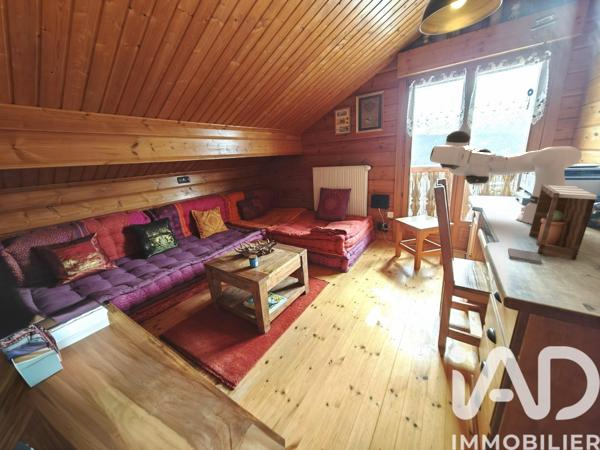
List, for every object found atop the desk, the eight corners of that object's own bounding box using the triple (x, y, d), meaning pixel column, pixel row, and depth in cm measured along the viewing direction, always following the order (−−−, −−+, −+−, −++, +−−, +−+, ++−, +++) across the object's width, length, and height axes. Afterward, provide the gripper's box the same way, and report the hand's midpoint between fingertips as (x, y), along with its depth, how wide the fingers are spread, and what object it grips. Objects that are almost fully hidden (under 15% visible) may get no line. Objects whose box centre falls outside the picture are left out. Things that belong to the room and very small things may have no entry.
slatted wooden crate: (528, 235, 109) (541, 184, 102) (559, 239, 103) (575, 185, 96) (537, 254, 90) (554, 192, 83) (575, 260, 84) (597, 194, 77)
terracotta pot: (533, 241, 102) (542, 207, 97) (556, 244, 97) (567, 209, 93) (535, 246, 96) (545, 211, 92) (560, 250, 92) (571, 213, 88)
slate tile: (507, 250, 94) (508, 247, 94) (537, 254, 89) (537, 252, 89) (509, 258, 87) (510, 255, 87) (541, 263, 82) (541, 261, 82)
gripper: (470, 162, 117) (506, 165, 108) (461, 164, 103) (501, 168, 94) (474, 148, 115) (511, 151, 106) (465, 149, 101) (507, 152, 92)
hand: (506, 159), depth 100 cm, fingers open, 8 cm apart
